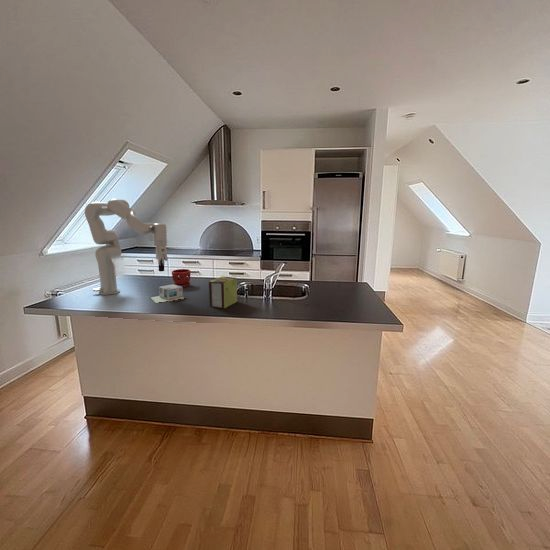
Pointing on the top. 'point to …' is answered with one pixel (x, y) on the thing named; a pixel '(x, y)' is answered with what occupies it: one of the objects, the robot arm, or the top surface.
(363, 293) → the top surface
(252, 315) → the top surface
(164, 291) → the light bulb box
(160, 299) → the pale green mat
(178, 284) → the plant pot
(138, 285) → the top surface
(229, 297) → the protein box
